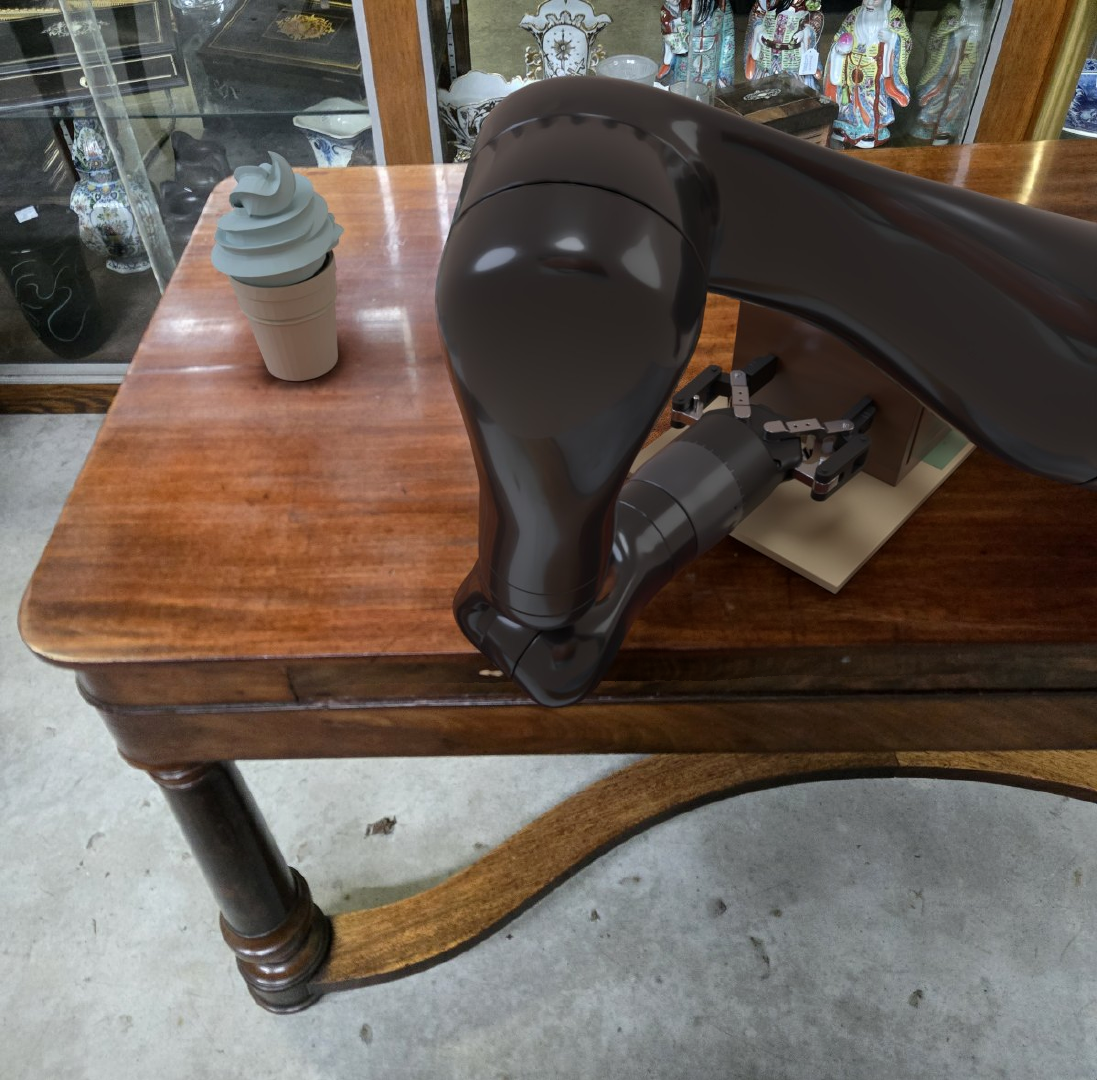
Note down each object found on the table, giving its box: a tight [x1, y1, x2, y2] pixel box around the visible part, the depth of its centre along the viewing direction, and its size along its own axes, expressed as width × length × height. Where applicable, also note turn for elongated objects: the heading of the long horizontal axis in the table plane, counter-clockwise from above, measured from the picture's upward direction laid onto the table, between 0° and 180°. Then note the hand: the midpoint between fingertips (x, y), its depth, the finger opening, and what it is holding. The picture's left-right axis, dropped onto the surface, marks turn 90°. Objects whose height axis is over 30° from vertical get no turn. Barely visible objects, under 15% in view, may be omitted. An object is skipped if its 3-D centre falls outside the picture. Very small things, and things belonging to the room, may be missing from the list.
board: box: [626, 396, 978, 595], centre depth 86 cm, size 28×20×1 cm
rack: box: [730, 301, 952, 487], centre depth 84 cm, size 10×16×12 cm, turn 48°
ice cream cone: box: [210, 150, 345, 382], centre depth 89 cm, size 10×11×20 cm
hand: (819, 385), depth 81 cm, fingers open, 8 cm apart
